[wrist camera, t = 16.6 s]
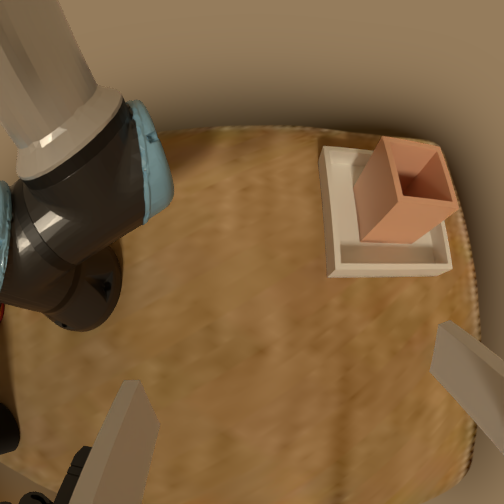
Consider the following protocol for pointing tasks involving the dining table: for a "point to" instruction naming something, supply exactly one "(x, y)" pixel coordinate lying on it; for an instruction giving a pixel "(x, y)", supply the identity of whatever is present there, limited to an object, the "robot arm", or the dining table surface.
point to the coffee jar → (8, 431)
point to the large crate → (347, 235)
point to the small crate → (402, 192)
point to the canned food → (1, 310)
